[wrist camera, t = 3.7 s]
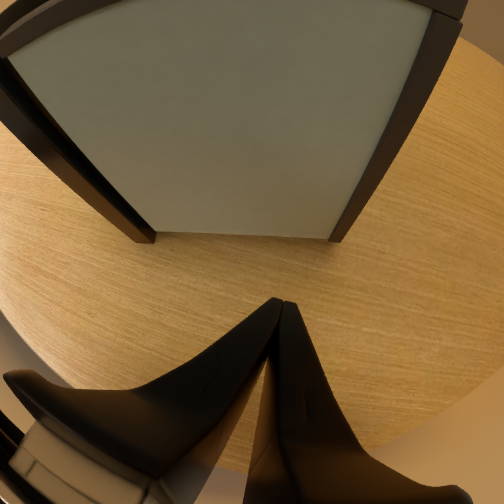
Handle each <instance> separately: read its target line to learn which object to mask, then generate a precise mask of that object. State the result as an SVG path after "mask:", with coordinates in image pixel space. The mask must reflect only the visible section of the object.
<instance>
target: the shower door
mask: <svg viewBox="0 0 504 504" xmlns="http://www.w3.org/2000/svg"><path fill="white" fill-rule="evenodd" d="M467 3H468V0H49V1H48V2H46V3H44V4H42V5H41V6H39V7H38V8H36V9H34V10H33V11H31V12H30V13H28V14H27V15H25V16H24V17H22V18H21V19H19V20H18V21H17V22H15V23H14V24H13V25H11V26H10V27H9V28H8V29H7V30H6V31H5V32H4V33H3V34H2V35H1V36H0V57H1V58H2V59H4V58H6V57H7V58H8V59H9V60H10V62H11V63H12V65H13V66H14V67H15V69H16V70H17V72H18V73H19V74H20V76H21V77H22V78H23V80H24V81H25V82H26V84H27V85H28V86H29V87H30V89H31V90H32V91H33V93H34V94H35V95H36V97H37V98H38V99H39V100H40V102H41V103H42V104H43V105H44V107H45V108H46V109H47V110H48V112H49V113H50V114H51V115H52V117H53V118H54V119H55V120H56V121H57V123H58V124H59V125H60V126H61V127H62V129H63V130H64V131H65V132H66V133H67V135H68V136H69V137H70V138H71V139H72V141H73V142H74V143H75V144H76V145H77V146H78V148H79V149H80V150H81V151H82V152H83V153H84V154H85V156H86V157H87V158H88V159H89V160H90V161H91V162H92V164H93V165H94V166H95V167H96V168H97V169H98V170H99V171H100V172H101V174H102V175H103V176H104V177H105V178H106V179H107V180H108V181H109V182H110V184H111V185H112V186H113V187H114V188H115V189H116V190H117V191H118V192H119V193H120V194H121V195H122V196H123V198H124V199H125V200H126V201H127V202H128V203H129V204H130V205H131V206H132V207H133V208H134V209H135V210H136V211H137V212H138V213H139V214H140V216H141V217H142V218H143V219H144V220H145V221H146V222H147V223H148V224H149V225H150V226H151V227H152V228H153V229H154V230H155V231H162V232H190V233H215V234H238V235H260V236H280V237H299V238H316V239H328V242H333V243H340V242H341V241H342V239H343V238H344V236H345V235H346V233H347V232H348V231H349V229H350V228H351V226H352V225H353V223H354V222H355V220H356V219H357V217H358V216H359V214H360V213H361V211H362V210H363V208H364V206H365V205H366V203H367V202H368V200H369V199H370V197H371V196H372V194H373V193H374V191H375V189H376V188H377V186H378V185H379V183H380V181H381V180H382V178H383V177H384V175H385V173H386V172H387V170H388V168H389V167H390V165H391V164H392V162H393V160H394V159H395V157H396V155H397V154H398V152H399V150H400V148H401V147H402V145H403V143H404V142H405V140H406V138H407V136H408V135H409V133H410V131H411V129H412V128H413V126H414V124H415V122H416V120H417V119H418V117H419V115H420V113H421V111H422V109H423V108H424V106H425V104H426V102H427V100H428V98H429V96H430V94H431V92H432V90H433V88H434V86H435V85H436V83H437V81H438V79H439V77H440V75H441V72H442V70H443V68H444V66H445V64H446V62H447V60H448V58H449V56H450V54H451V51H452V49H453V47H454V45H455V43H456V40H457V38H458V36H459V34H460V31H461V29H462V26H463V24H462V23H461V21H460V20H461V18H462V16H463V13H464V10H465V8H466V5H467Z"/></svg>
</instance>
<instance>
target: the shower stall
mask: <svg viewBox="0 0 504 504" xmlns="http://www.w3.org/2000/svg"><path fill="white" fill-rule="evenodd" d="M48 1H49V0H16V1H15V2H14V3H12V4H11V5H10V6H9V7H7V8H6V9H5V10H4V11H3V12H1V13H0V36H1V35H2V34H3V33H4V32H5V31H6V30H7V29H8V28H9V27H10V26H11V25H13V24H14V23H15V22H17V21H18V20H19V19H21V18H22V17H24V16H25V15H27V14H28V13H30V12H31V11H33V10H34V9H36V8H38V7H39V6H41V5H42V4H44V3H46V2H48ZM0 121H1V122H2V123H3V124H4V125H5V126H6V127H7V128H8V129H9V130H10V131H11V132H12V133H13V134H14V135H15V136H16V137H17V138H18V139H19V140H20V141H21V142H22V143H23V144H24V145H25V146H26V147H27V148H28V149H29V150H30V151H31V152H32V153H33V154H34V155H35V156H36V157H37V158H38V159H39V160H40V161H41V162H42V163H43V164H45V165H46V166H47V167H48V168H49V169H50V170H51V171H52V172H53V173H54V174H55V175H56V176H58V177H59V178H60V179H61V180H62V181H63V182H64V183H65V184H66V185H68V186H69V187H70V188H71V189H72V190H73V191H74V192H75V193H77V194H78V195H79V196H80V197H81V198H82V199H83V200H85V201H86V202H87V203H88V204H89V205H90V206H92V207H93V208H94V209H95V210H96V211H98V212H99V213H100V214H101V215H102V216H103V217H105V218H106V219H107V220H108V221H110V222H111V223H112V224H113V225H114V226H116V227H117V228H118V229H119V230H121V231H122V232H123V233H124V234H125V235H127V236H128V237H129V238H130V239H132V240H133V241H134V242H136V243H149V244H154V242H155V237H156V232H157V231H155V230H154V229H153V228H152V227H151V226H150V225H149V224H148V223H147V222H146V221H145V220H144V219H143V218H142V217H141V216H140V214H139V213H138V212H137V211H136V210H135V209H134V208H133V207H132V206H131V205H130V204H129V203H128V202H127V201H126V200H125V199H124V198H123V196H122V195H121V194H120V193H119V192H118V191H117V190H116V189H115V188H114V187H113V186H112V185H111V184H110V182H109V181H108V180H107V179H106V178H105V177H104V176H103V175H102V174H101V172H100V171H99V170H98V169H97V168H96V167H95V166H94V165H93V164H92V162H91V161H90V160H89V159H88V158H87V157H86V156H85V154H84V153H83V152H82V151H81V150H80V149H79V148H78V146H77V145H76V144H75V143H74V142H73V141H72V139H71V138H70V137H69V136H68V135H67V133H66V132H65V131H64V130H63V129H62V127H61V126H60V125H59V124H58V123H57V121H56V120H55V119H54V118H53V117H52V115H51V114H50V113H49V112H48V110H47V109H46V108H45V107H44V105H43V104H42V103H41V102H40V100H39V99H38V98H37V97H36V95H35V94H34V93H33V91H32V90H31V89H30V87H29V86H28V85H27V84H26V82H25V81H24V80H23V78H22V77H21V76H20V74H19V73H18V72H17V70H16V69H15V67H14V66H13V65H12V63H11V62H10V60H9V59H8V58H7V57H6V58H4V59H2V58H1V57H0Z"/></svg>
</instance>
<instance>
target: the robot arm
mask: <svg viewBox="0 0 504 504" xmlns="http://www.w3.org/2000/svg"><path fill="white" fill-rule="evenodd" d="M283 302H284V303H283ZM269 351H270V352H269ZM267 358H268V359H267ZM266 361H267V364H266V370H265V377H264V383H263V390H262V396H261V402H260V409H259V415H258V421H257V427H256V433H255V439H254V445H253V450H252V456H251V462H250V467H249V473H248V478H247V484H246V488H245V494H244V499H243V504H473V501H472V499H471V497H470V496H469V494H468V493H467V492H465V491H464V490H463V489H461V488H460V487H458V486H457V485H447V486H440V487H431V486H426V485H422V484H419V483H417V482H415V481H413V480H411V479H409V478H407V477H405V476H403V475H402V474H400V473H398V472H396V471H395V470H393V469H391V468H389V467H387V466H386V465H384V464H382V463H380V462H379V461H377V460H376V459H374V458H373V457H371V456H370V455H369V454H368V453H367V452H366V451H365V450H364V449H363V448H362V446H361V445H360V443H359V442H358V440H357V438H356V436H355V435H354V433H353V431H352V429H351V427H350V426H349V424H348V422H347V420H346V418H345V417H344V415H343V413H342V411H341V409H340V407H339V405H338V403H337V401H336V399H335V398H334V395H333V393H332V391H331V388H330V386H329V384H328V381H327V378H326V376H325V373H324V371H323V368H322V366H321V363H320V361H319V358H318V356H317V353H316V351H315V348H314V346H313V343H312V341H311V338H310V336H309V333H308V331H307V328H306V326H305V323H304V321H303V319H302V316H301V314H300V311H299V309H298V306H297V304H296V303H293V302H290V301H283V300H282V299H278V298H275V297H272V298H270V299H269V300H268V301H266V302H265V303H264V304H263V305H262V306H260V307H259V308H258V309H257V310H255V311H254V312H253V313H252V314H250V315H249V316H248V317H247V318H245V319H244V320H243V321H242V322H240V323H239V324H238V325H237V326H235V327H234V328H233V329H231V330H230V331H229V332H228V333H226V334H225V335H224V336H222V337H221V338H220V339H219V340H217V341H216V342H215V343H213V344H212V345H211V346H209V347H208V348H207V349H205V350H204V351H203V352H201V353H200V354H198V355H197V356H196V357H194V358H193V359H191V360H189V361H188V362H186V363H184V364H183V365H181V366H179V367H177V368H175V369H174V370H172V371H170V372H168V373H166V374H164V375H162V376H160V377H159V378H157V379H155V380H153V381H151V382H149V383H147V384H145V385H143V386H140V387H137V388H134V389H129V390H89V389H72V388H65V387H61V386H58V385H55V384H53V383H51V382H49V381H47V380H46V379H45V378H43V377H42V376H41V375H40V374H38V373H37V372H35V371H33V370H31V369H18V370H12V371H9V372H7V373H5V374H3V378H4V380H5V382H6V383H7V385H8V386H9V388H10V389H11V390H12V391H13V393H14V394H15V396H16V397H17V398H18V399H19V400H20V402H21V403H22V404H23V405H24V407H25V408H26V409H27V410H28V411H29V412H30V413H31V415H32V416H33V417H34V418H35V419H36V421H35V422H34V424H33V425H32V426H31V428H30V429H29V430H28V432H27V433H26V435H25V434H24V433H23V432H22V431H21V430H20V429H19V428H17V427H16V426H15V425H14V424H13V423H12V422H11V421H10V420H9V419H8V418H7V417H6V416H5V415H4V414H3V412H2V411H1V410H0V504H194V502H195V500H196V498H197V497H198V495H199V493H200V491H201V490H202V488H203V486H204V484H205V483H206V481H207V479H208V477H209V476H210V474H211V472H212V470H213V468H214V466H215V464H216V463H217V461H218V459H219V457H220V455H221V453H222V451H223V449H224V448H225V446H226V444H227V442H228V440H229V438H230V436H231V434H232V432H233V430H234V428H235V426H236V424H237V422H238V420H239V418H240V416H241V414H242V412H243V410H244V408H245V406H246V404H247V402H248V400H249V398H250V396H251V394H252V391H253V389H254V387H255V385H256V383H257V381H258V379H259V377H260V374H261V372H262V370H263V368H264V366H265V363H266Z"/></svg>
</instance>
